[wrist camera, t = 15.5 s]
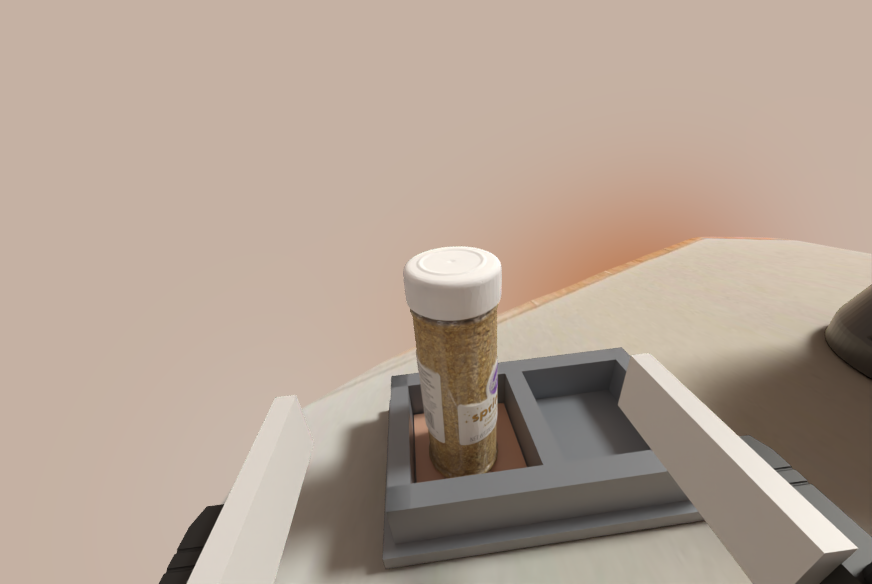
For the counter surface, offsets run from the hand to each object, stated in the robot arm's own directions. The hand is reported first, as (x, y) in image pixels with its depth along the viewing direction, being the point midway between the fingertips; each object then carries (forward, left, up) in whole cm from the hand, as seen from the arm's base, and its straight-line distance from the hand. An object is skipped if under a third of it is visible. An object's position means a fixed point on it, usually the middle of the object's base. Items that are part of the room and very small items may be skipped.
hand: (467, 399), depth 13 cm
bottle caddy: (-6, 0, -10) cm, 12 cm away
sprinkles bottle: (-3, -3, -9) cm, 10 cm away
